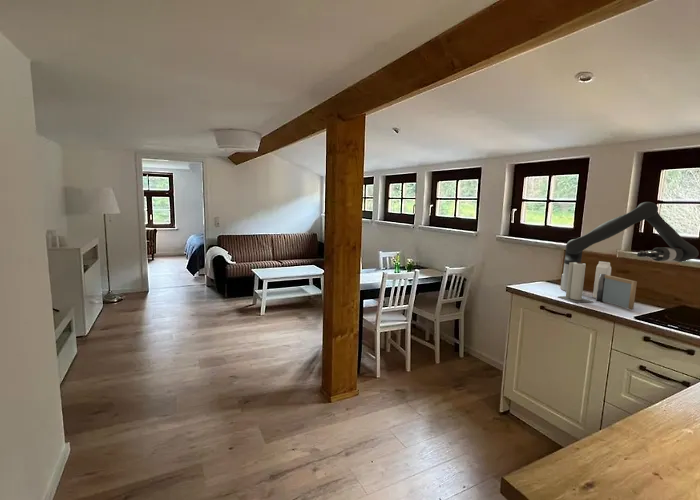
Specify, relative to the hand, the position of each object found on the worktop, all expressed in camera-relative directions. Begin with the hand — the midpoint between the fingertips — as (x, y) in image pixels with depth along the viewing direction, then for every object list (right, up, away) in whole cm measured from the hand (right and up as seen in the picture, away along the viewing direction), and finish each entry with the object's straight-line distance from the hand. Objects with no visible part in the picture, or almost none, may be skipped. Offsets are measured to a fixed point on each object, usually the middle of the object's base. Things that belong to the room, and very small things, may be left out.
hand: (638, 254), depth 204 cm
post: (-12, -27, +13) cm, 33 cm away
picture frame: (-10, -28, +2) cm, 30 cm away
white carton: (-25, -26, +16) cm, 40 cm away
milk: (-6, -27, +22) cm, 35 cm away
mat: (-25, -27, +15) cm, 40 cm away
